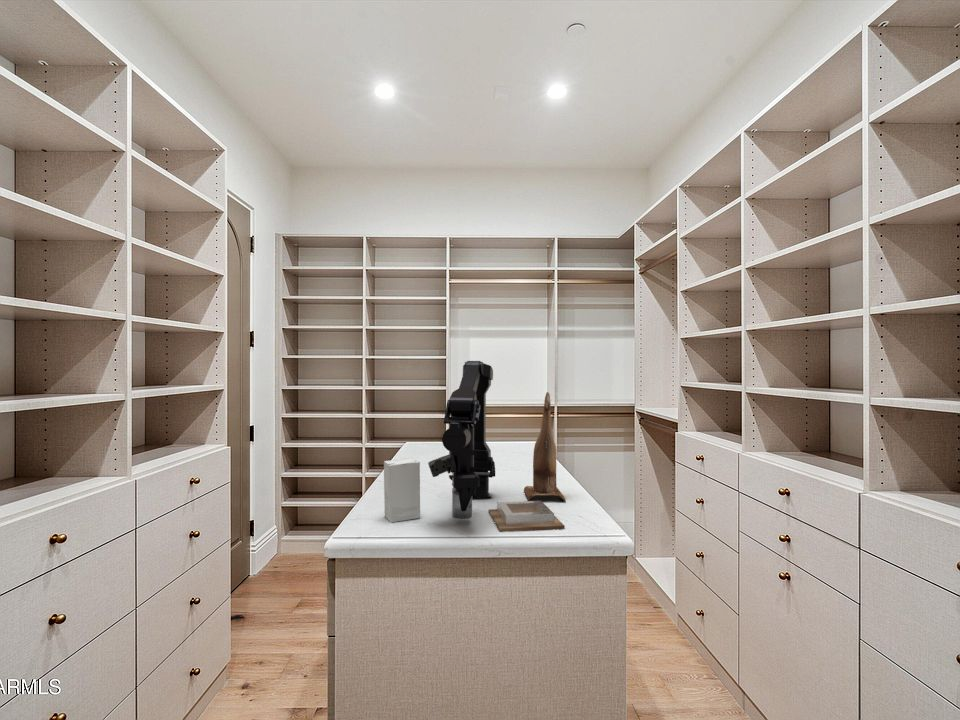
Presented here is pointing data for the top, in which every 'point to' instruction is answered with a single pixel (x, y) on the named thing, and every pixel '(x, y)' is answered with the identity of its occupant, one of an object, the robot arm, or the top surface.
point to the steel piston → (457, 509)
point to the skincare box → (402, 489)
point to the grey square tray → (525, 513)
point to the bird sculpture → (544, 459)
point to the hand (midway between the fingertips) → (462, 507)
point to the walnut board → (503, 527)
